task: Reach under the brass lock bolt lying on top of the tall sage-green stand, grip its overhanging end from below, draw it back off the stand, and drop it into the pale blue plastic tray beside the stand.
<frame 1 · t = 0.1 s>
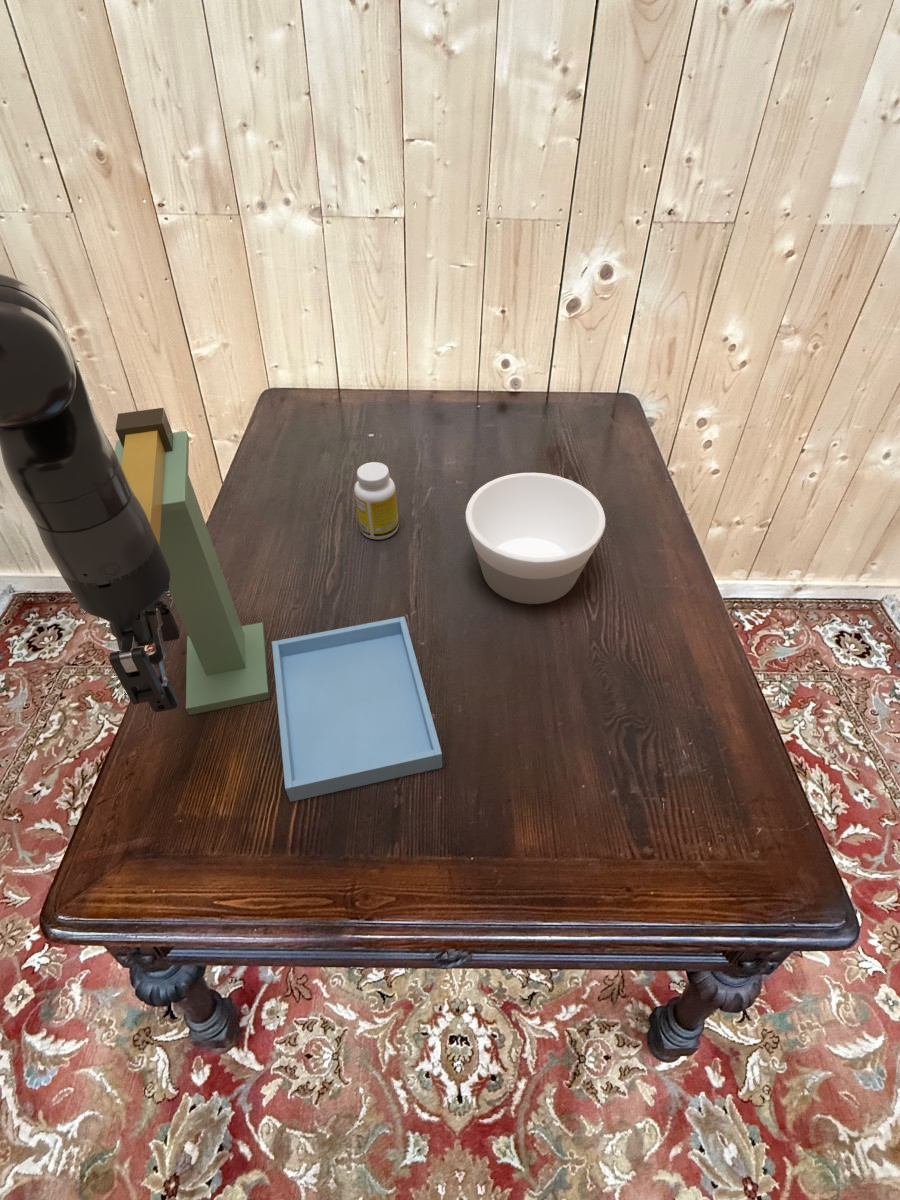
hand: (168, 671, 67), 19 cm above the table, tool pointing down, fingers open, 8 cm apart
bowl: (529, 570, 103), on the table
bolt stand: (228, 670, 90), on the table
pill bottle: (379, 529, 110), on the table
brass bolt: (146, 496, 64), point 32 cm above the table, touching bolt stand
tray: (353, 708, 86), on the table
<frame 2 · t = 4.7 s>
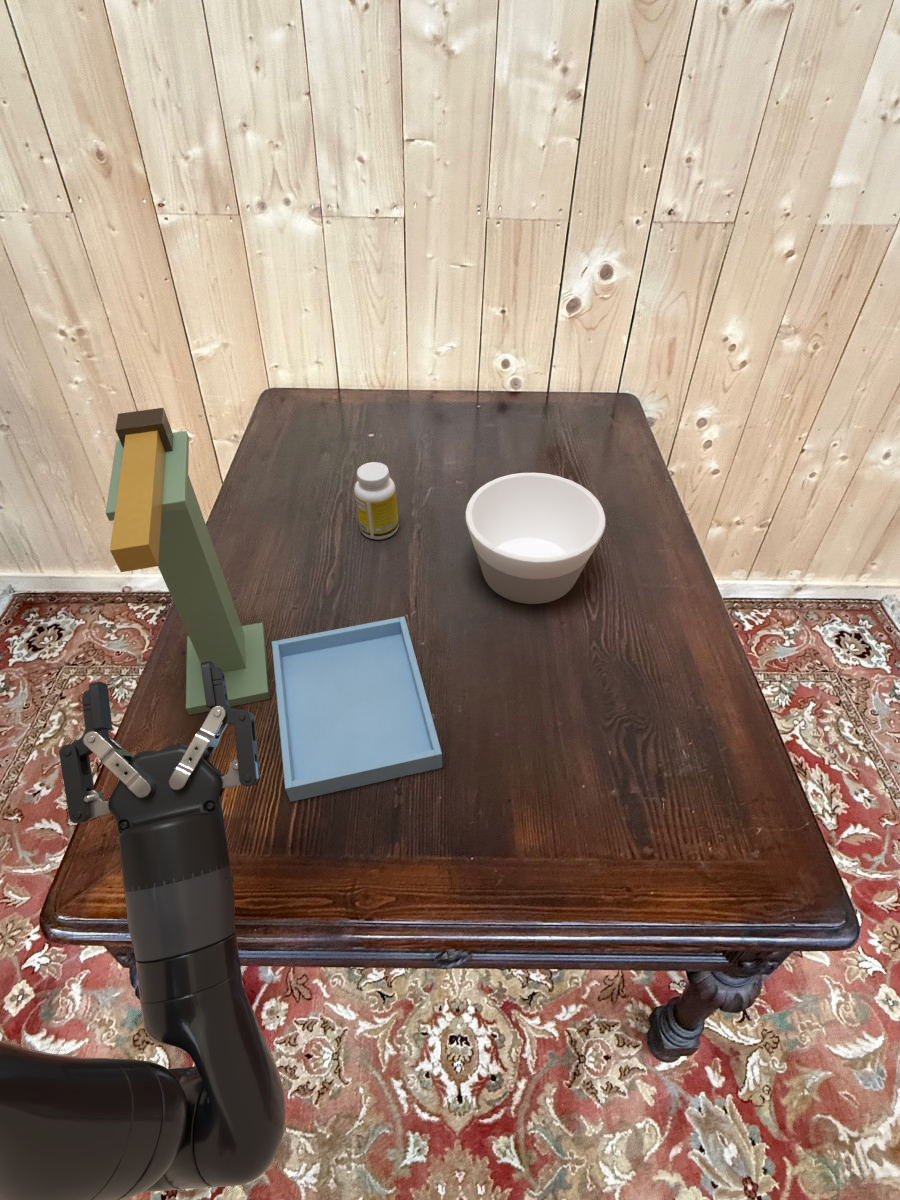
hand: (153, 672, 56), 27 cm above the table, tool pointing upward, fingers open, 8 cm apart
nothing on the table moved.
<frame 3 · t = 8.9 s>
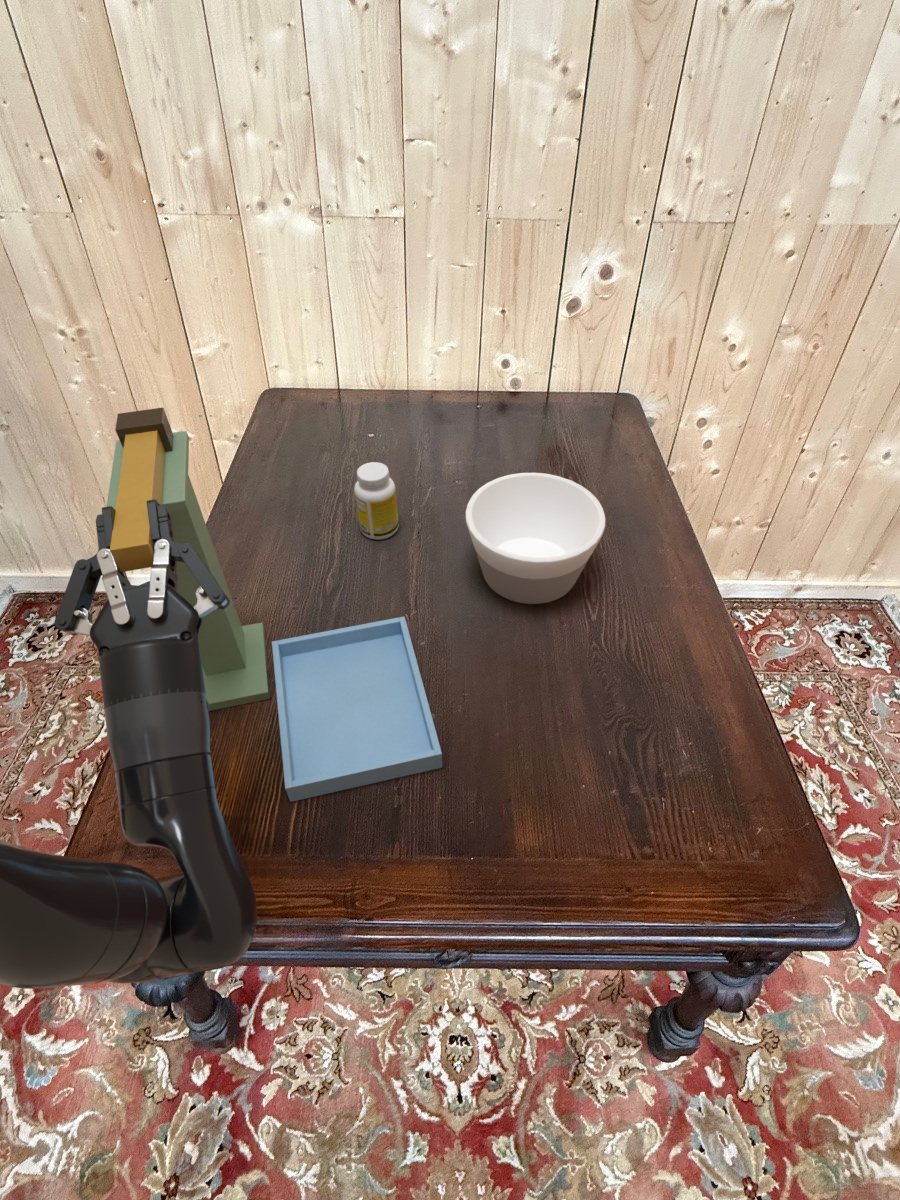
hand: (132, 507, 59), 35 cm above the table, tool pointing upward, fingers closed on brass bolt, 3 cm apart
brass bolt: (146, 496, 64), point 32 cm above the table, touching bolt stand, gripper
everything else where it was.
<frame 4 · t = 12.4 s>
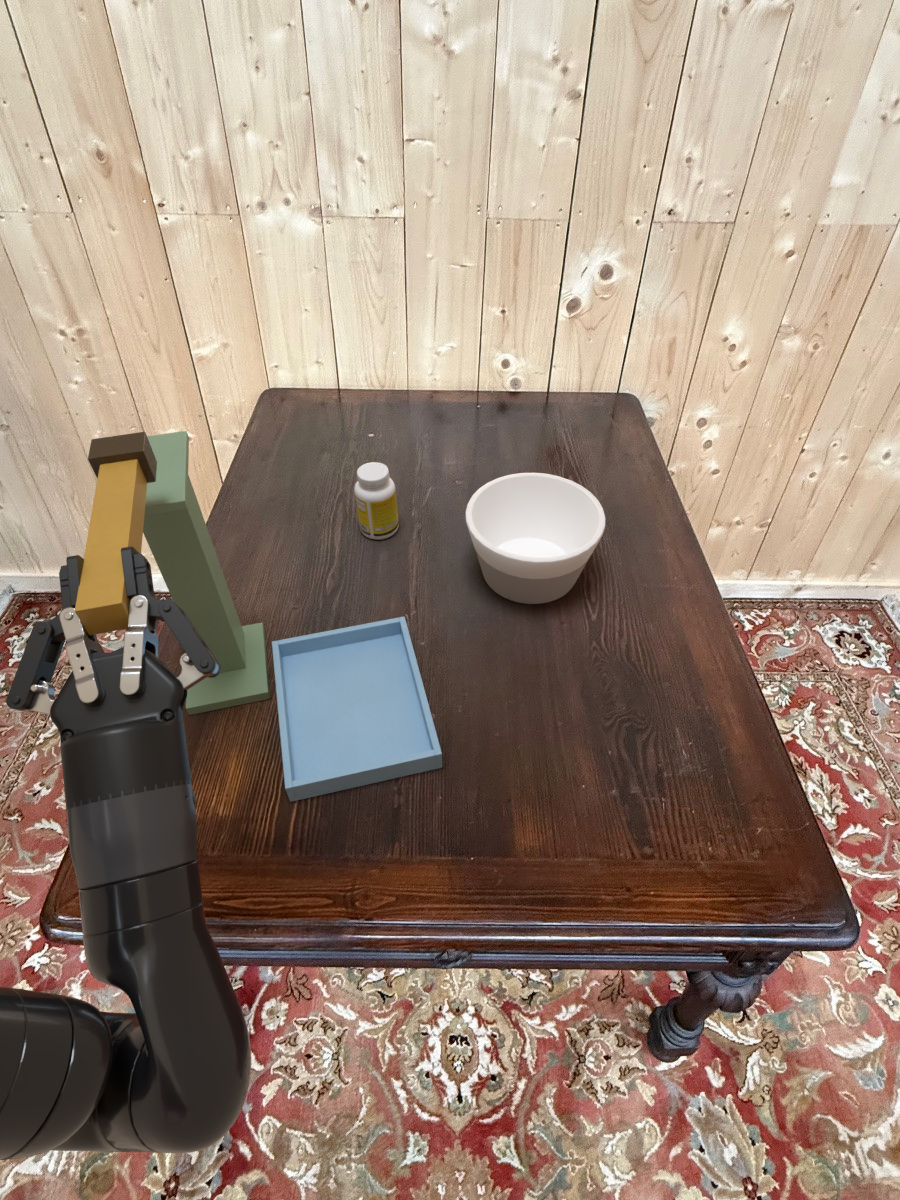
hand: (103, 555, 49), 39 cm above the table, tool pointing upward, fingers closed on brass bolt, 3 cm apart
brass bolt: (123, 538, 54), point 36 cm above the table, touching gripper
everything else where it was.
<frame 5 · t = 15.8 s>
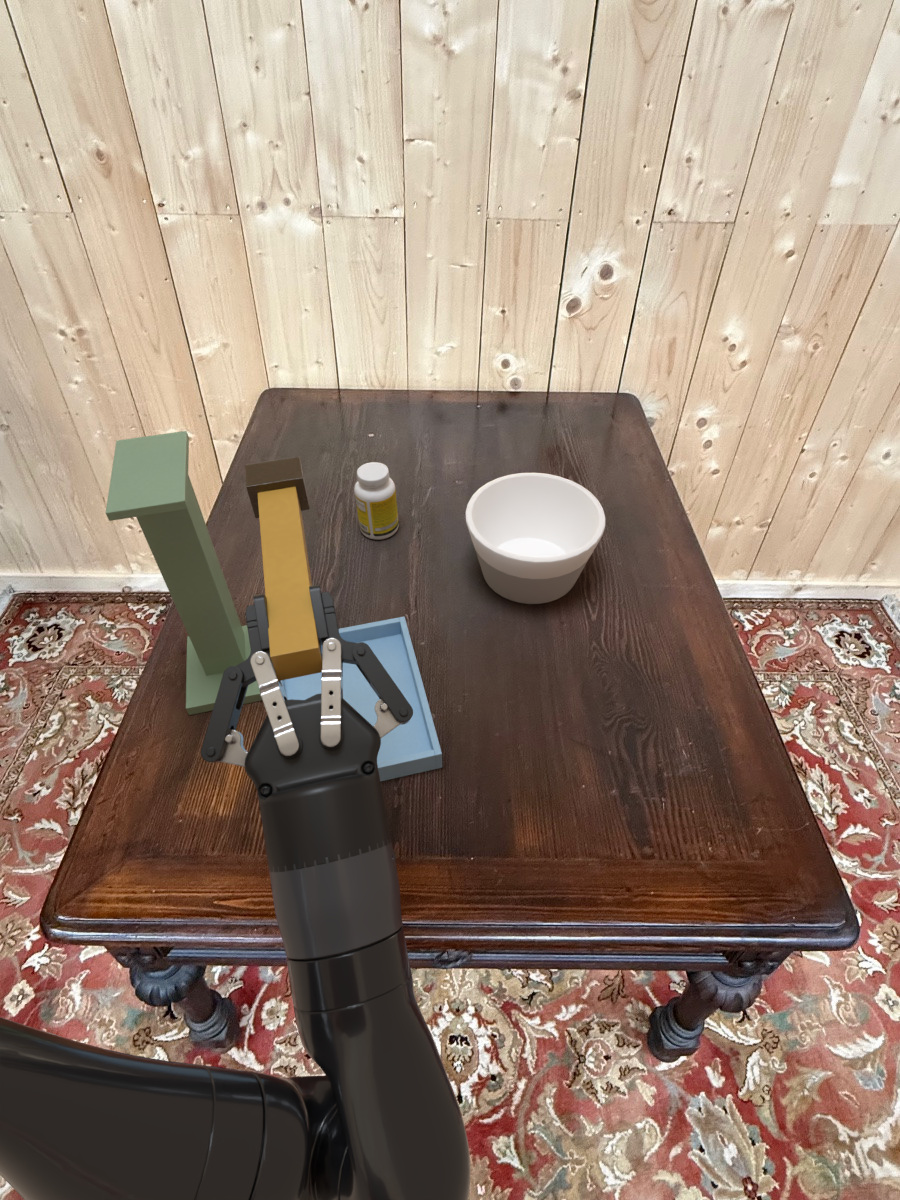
hand: (287, 594, 46), 39 cm above the table, tool pointing upward, fingers closed on brass bolt, 3 cm apart
brass bolt: (289, 572, 51), point 36 cm above the table, touching gripper
everything else where it was.
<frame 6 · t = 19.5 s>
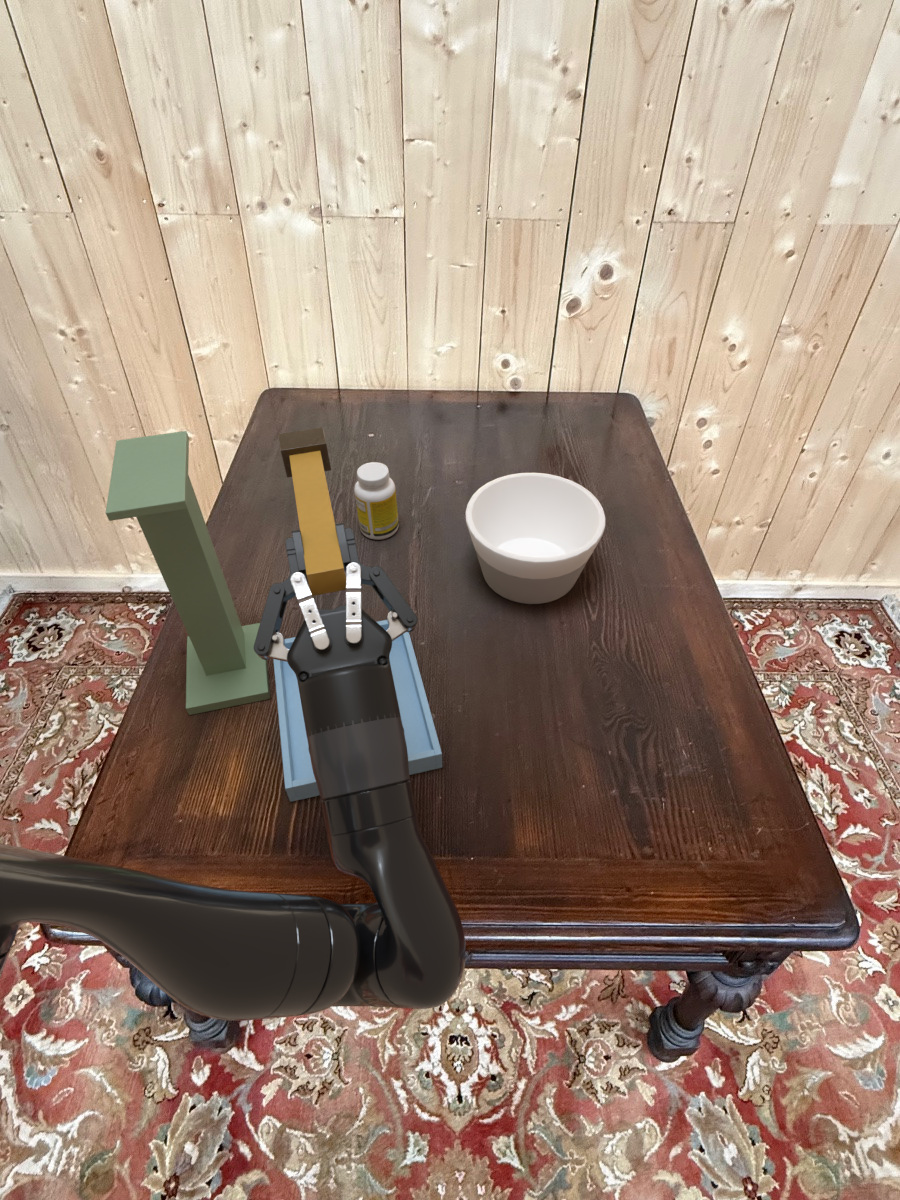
hand: (318, 530, 58), 33 cm above the table, tool pointing upward, fingers closed on brass bolt, 3 cm apart
brass bolt: (316, 518, 64), point 31 cm above the table, touching gripper
everything else where it was.
when the fingers open (23 cm above the table, at t = 22.6 s): brass bolt drops 19 cm, resting on tray.
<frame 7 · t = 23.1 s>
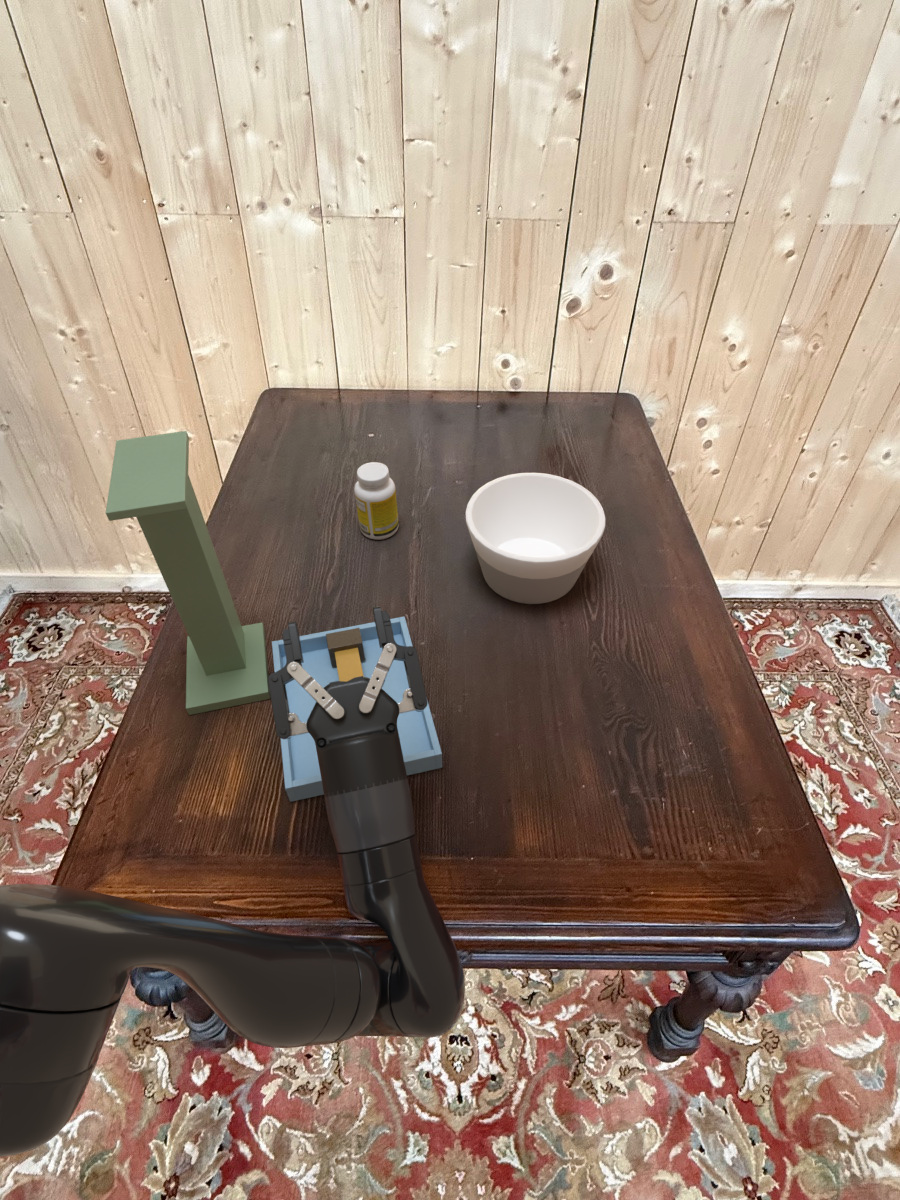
hand: (334, 615, 65), 23 cm above the table, tool pointing upward, fingers open, 7 cm apart
brass bolt: (356, 702, 84), point 2 cm above the table, tilted 7°, touching tray
everything else where it was.
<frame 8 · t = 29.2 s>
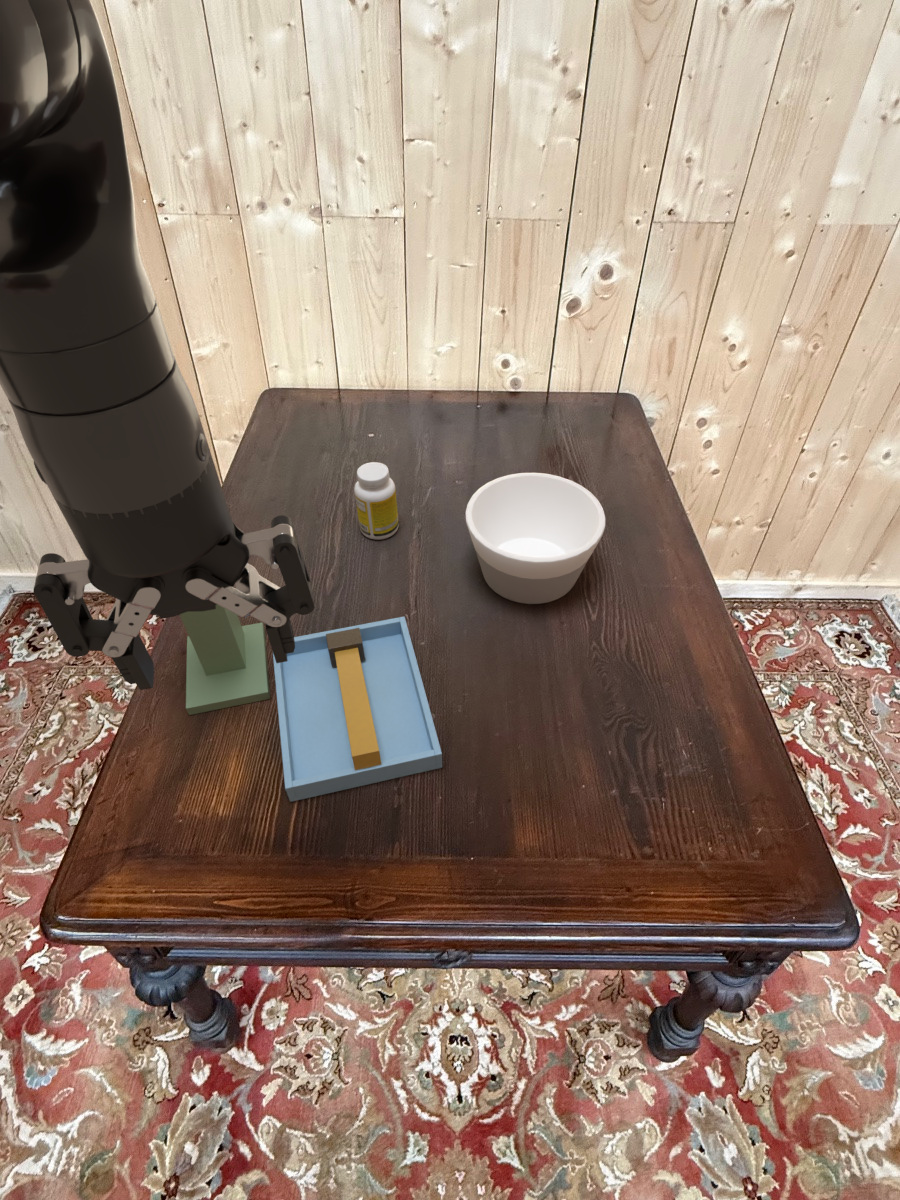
hand: (215, 665, 45), 36 cm above the table, tool pointing down, fingers open, 8 cm apart
nothing on the table moved.
at the end: brass bolt inside the target area in the tray (0.7 cm from its centre), point 1.9 cm above the tray's base; brass bolt touching tray; the gripper is holding nothing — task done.
